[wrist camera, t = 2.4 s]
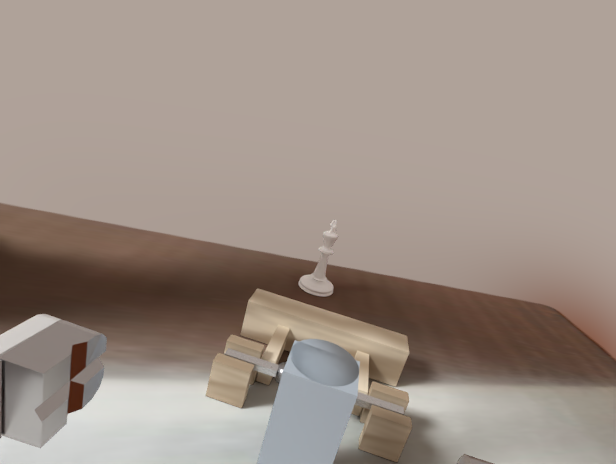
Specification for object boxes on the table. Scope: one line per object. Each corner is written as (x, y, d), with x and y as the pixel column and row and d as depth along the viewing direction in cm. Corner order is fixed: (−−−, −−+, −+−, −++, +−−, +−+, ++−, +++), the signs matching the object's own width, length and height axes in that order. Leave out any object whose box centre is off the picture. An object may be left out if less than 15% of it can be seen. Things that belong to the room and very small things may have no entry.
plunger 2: (400, 425, 30) (405, 413, 29) (330, 401, 30) (334, 389, 30) (399, 414, 31) (404, 402, 30) (332, 391, 31) (336, 379, 31)
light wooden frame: (401, 464, 29) (419, 422, 28) (202, 394, 30) (210, 352, 29) (394, 368, 40) (406, 335, 39) (249, 320, 42) (257, 288, 40)
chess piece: (301, 294, 51) (320, 223, 47) (296, 276, 55) (313, 211, 52) (336, 299, 52) (357, 230, 49) (328, 281, 56) (347, 217, 53)
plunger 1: (288, 386, 30) (291, 374, 30) (221, 364, 31) (224, 351, 30) (291, 377, 31) (294, 365, 31) (227, 355, 32) (229, 343, 32)
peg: (308, 530, 23) (357, 396, 20) (244, 506, 23) (283, 371, 20) (318, 472, 26) (360, 351, 23) (263, 452, 27) (297, 331, 24)
